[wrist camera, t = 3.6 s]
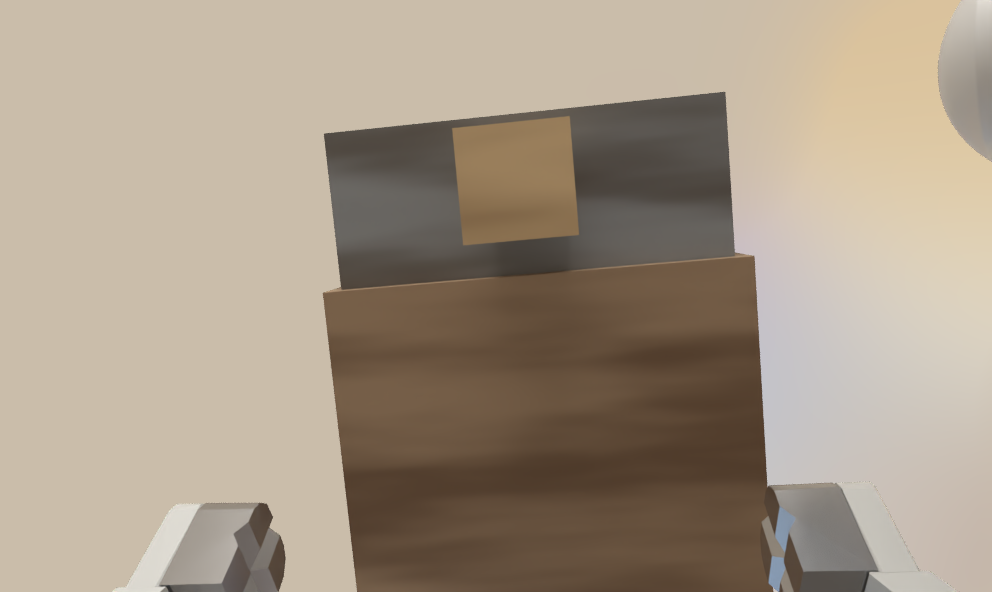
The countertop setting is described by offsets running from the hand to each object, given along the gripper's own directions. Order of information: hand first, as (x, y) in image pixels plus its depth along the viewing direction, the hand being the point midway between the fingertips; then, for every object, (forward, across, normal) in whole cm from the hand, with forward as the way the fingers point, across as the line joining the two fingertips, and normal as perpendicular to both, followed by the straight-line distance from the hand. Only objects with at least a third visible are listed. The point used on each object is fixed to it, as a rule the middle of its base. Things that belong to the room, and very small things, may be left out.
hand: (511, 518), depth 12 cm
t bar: (+13, 0, +3) cm, 14 cm away
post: (+6, 0, +29) cm, 29 cm away
